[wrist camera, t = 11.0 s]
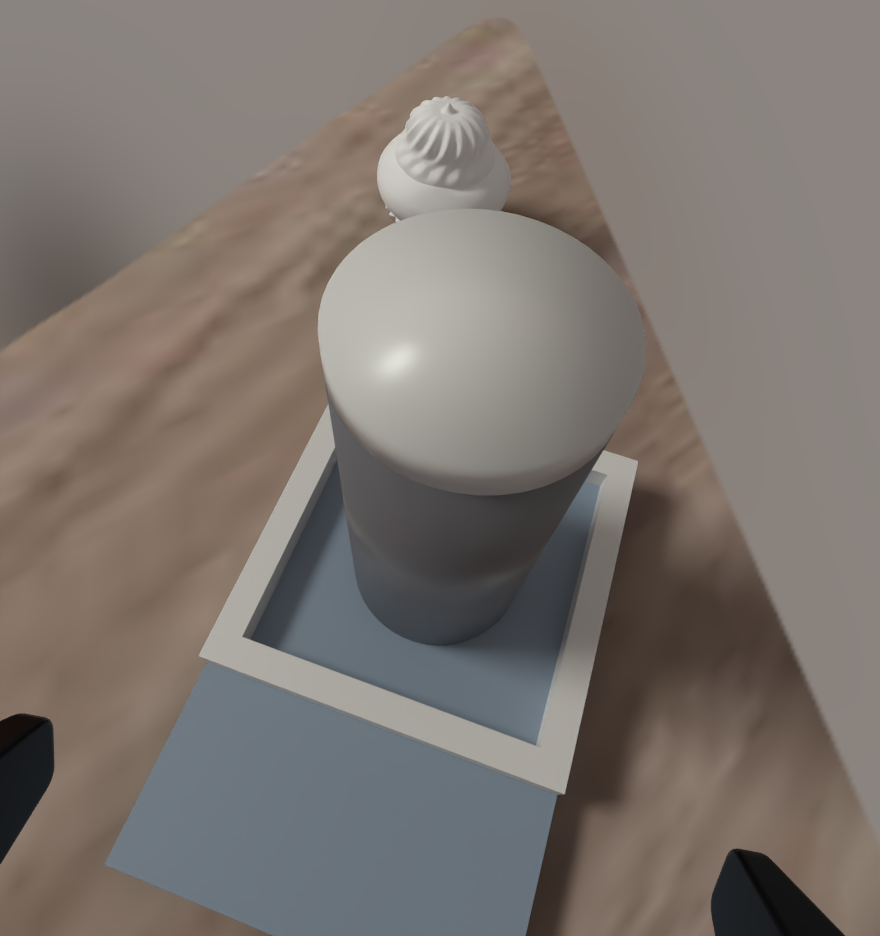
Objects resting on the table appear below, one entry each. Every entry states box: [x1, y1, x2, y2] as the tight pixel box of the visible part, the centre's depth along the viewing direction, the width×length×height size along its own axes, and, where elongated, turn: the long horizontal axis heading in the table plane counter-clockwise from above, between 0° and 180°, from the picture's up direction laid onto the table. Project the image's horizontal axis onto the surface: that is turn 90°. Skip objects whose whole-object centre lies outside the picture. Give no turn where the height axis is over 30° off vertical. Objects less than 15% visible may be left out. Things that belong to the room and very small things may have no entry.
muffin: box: [377, 96, 511, 223], centre depth 29 cm, size 6×6×7 cm
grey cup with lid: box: [318, 209, 647, 645], centre depth 17 cm, size 6×6×13 cm
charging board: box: [104, 404, 638, 936], centre depth 22 cm, size 18×12×2 cm, turn 161°
